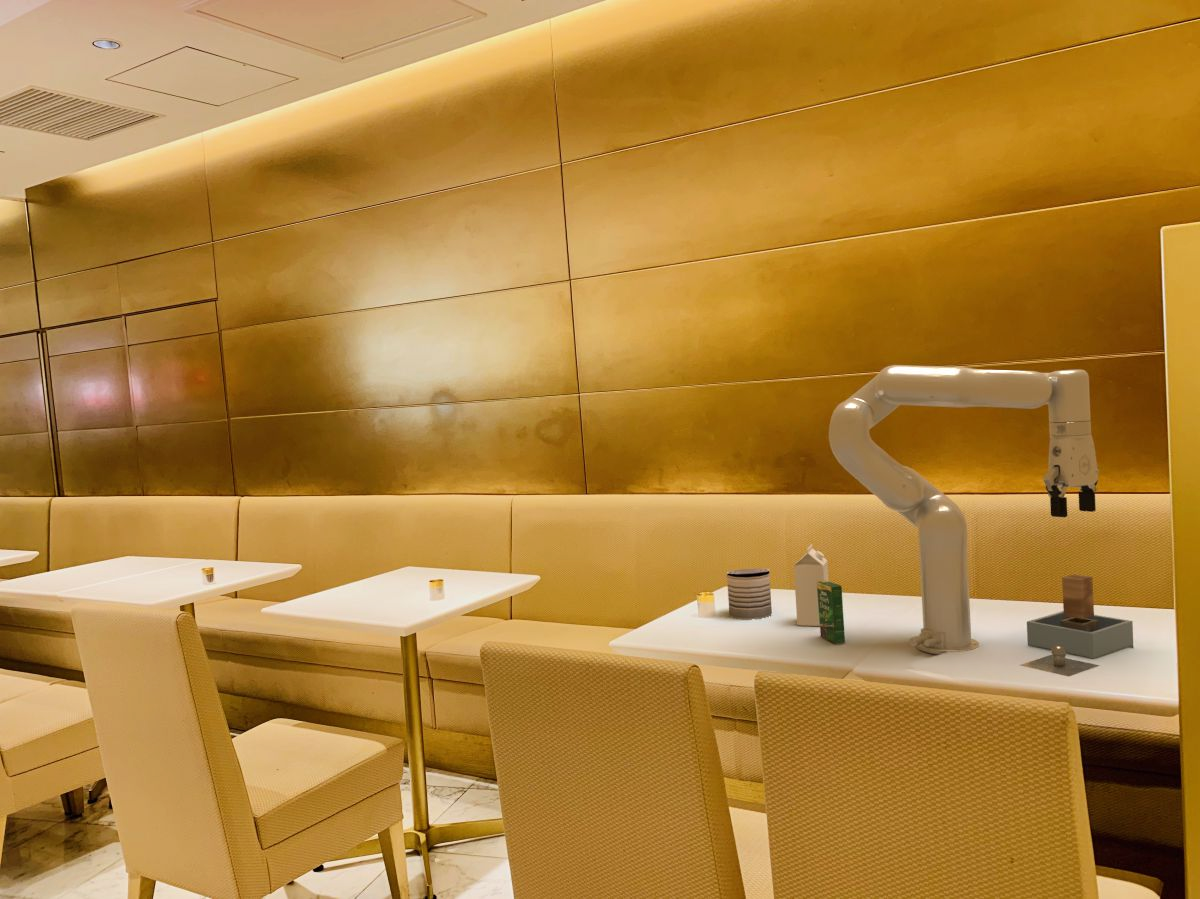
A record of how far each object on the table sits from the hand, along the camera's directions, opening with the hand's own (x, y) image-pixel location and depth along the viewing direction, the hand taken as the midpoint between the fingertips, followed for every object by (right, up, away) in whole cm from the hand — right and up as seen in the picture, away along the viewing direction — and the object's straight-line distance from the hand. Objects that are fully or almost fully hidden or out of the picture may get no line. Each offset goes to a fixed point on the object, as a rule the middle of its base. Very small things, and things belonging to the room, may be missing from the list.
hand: (1073, 513), depth 185 cm
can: (-58, -30, +51) cm, 82 cm away
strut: (+2, -27, +1) cm, 27 cm away
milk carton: (-44, -30, +38) cm, 65 cm away
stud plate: (-8, -29, -11) cm, 32 cm away
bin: (+2, -28, +1) cm, 28 cm away
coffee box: (-44, -31, +22) cm, 58 cm away
